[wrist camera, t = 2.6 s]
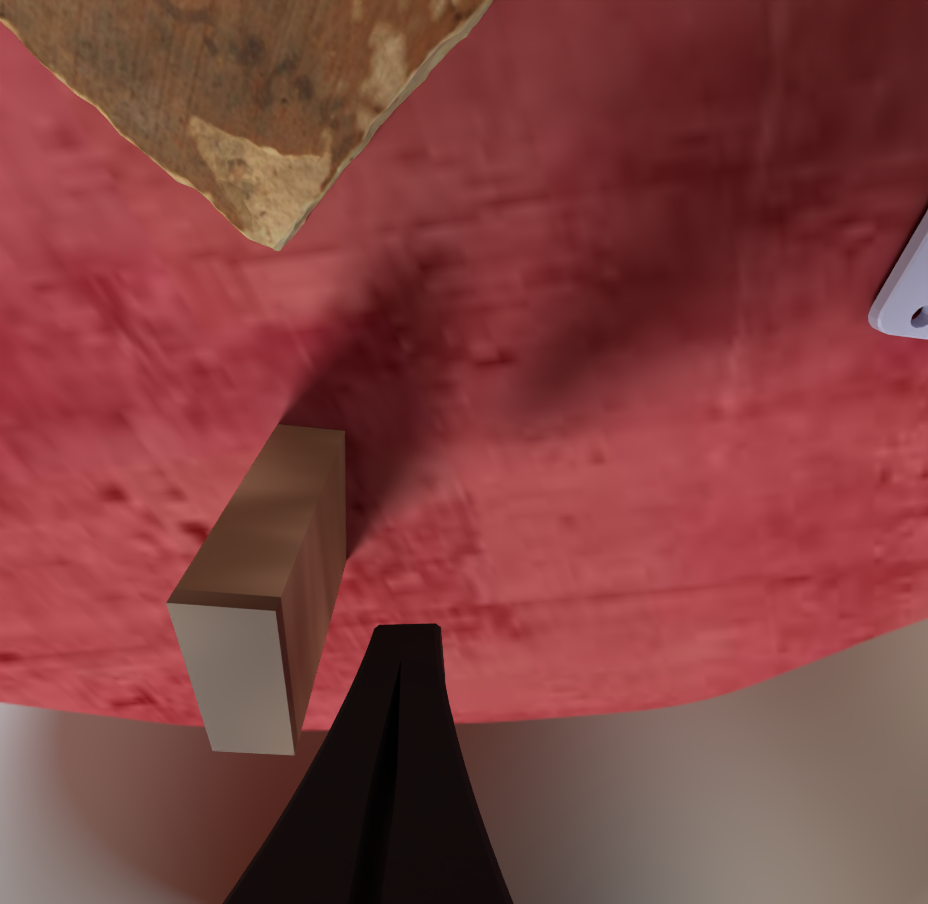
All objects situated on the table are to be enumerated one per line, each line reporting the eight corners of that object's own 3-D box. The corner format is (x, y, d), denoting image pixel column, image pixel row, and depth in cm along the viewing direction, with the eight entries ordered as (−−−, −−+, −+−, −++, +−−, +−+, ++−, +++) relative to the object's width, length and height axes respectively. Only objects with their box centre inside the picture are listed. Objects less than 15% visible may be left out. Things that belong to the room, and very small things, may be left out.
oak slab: (344, 430, 13) (275, 610, 8) (346, 560, 16) (294, 755, 11) (277, 423, 13) (166, 602, 8) (290, 556, 16) (212, 750, 11)
